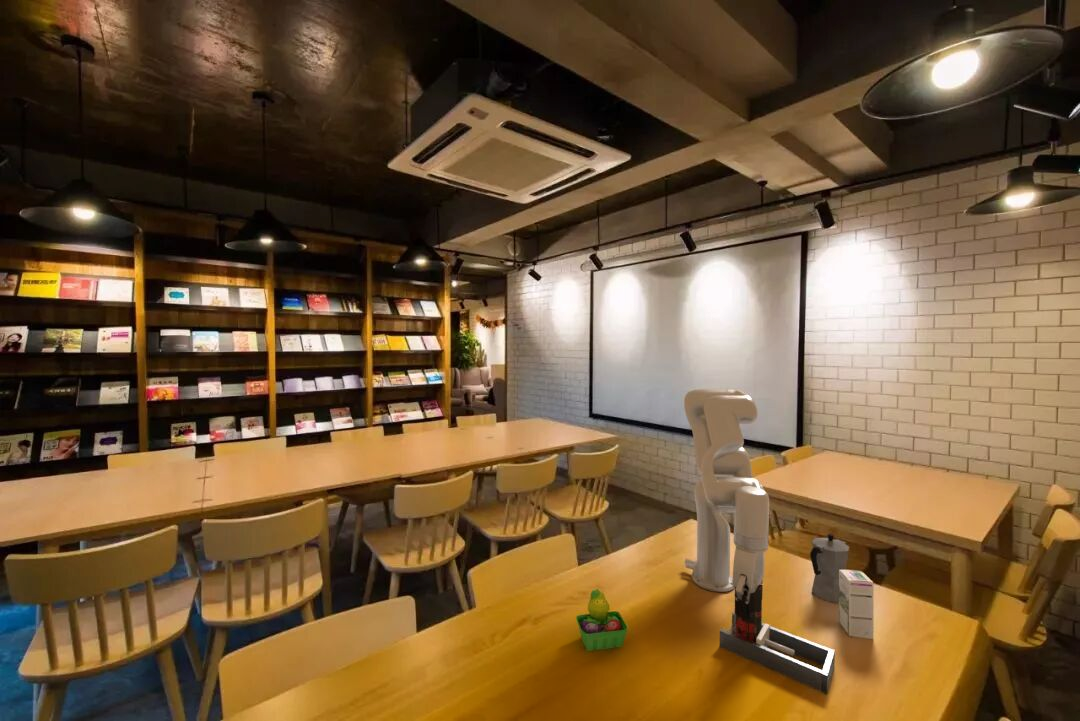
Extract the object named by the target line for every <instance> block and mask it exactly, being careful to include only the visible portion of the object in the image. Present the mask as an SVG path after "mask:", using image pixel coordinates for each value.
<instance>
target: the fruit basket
mask: <svg viewBox="0 0 1080 721" xmlns="http://www.w3.org/2000/svg"><path fill="white" fill-rule="evenodd" d="M610 609H611V608H610V604H609V602H608V600H607V599H606V596H605V594H604V592H602V591H601V590H599V589H593V590H592V591H591V593H590V598H589V601H588V603H587V611H588V613H586V614H578V615H576V617H575V618H576V623H577V624H578V628H579V632H580V636H581V639H582V642H583V644H584V647H585V650H586V651H587V652H590V651H598V650H599V651H600V650H604V649H607V650H608V649H613V648H621V647H623V646H624V645H623V644H624V641H625V638H626V635H627V633H628V630H629V627H628V625H627V624H626V622H625V621H624V619H623V617H622V615H621V613H620V612H619V611H618V610H615V611H610Z"/></svg>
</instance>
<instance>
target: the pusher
mask: <svg viewBox="0 0 1080 721" xmlns="http://www.w3.org/2000/svg"><path fill="white" fill-rule="evenodd" d="M770 626H771V624H768V623H766V622H765V623H764V626H763V628H762V629H761V631H760V633H759V635H758V636H757V638H756V643H757V644H759V645H762V646H764V647H767V648H769V647H771V648H772V649H774V650H778V651H779V652H783V653H785V654H787V655H790V656H792V657H794V656H795V654H794V653H795V651H794V650H792V649H790V648H787V647H785V646H782V645H780V644H777V643H775V642H772V641H770V640H769V636H770Z"/></svg>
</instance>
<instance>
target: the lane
mask: <svg viewBox="0 0 1080 721" xmlns="http://www.w3.org/2000/svg"><path fill="white" fill-rule="evenodd" d="M764 624H765V623H764V622H762V628H763V626H764ZM734 627H735V611H733V612H732V613H731V626H730V627H729V629H728V630H725V629H722V628H720V629H719V648H721V649H724V650H725V651H728V652H730V653H733V654H735V655H737V656H739V657H741V658H744V659H746V660H749V661H750V662H753V663H755V664H758V665H760V666H762V667H765V668H766V669H769V670H771V671H773V672H776V673H777V674H781V675H783V677H784V676H785V677H787V678H789V679H791V680H794V681H796V682H798V683H800V684H803V685H805V686H808V687H809V688H812V689H814V690H816V691H819V692H821V693H823V694H826V695H828V693H829V689H830V685H831V681H832V678H833V674H834V671H835V657H836V655H835V654H836V652H835V649H832V648H829V647H827V646H824V645H821V644H818V643H815V642H813V641H811V640H808V639H806V638H802V637H800V636H797V635H794V634H792V633H790V632H787V631H785V630H782V629H778V628H776V627H773V626H771V625H770V636H769V640H770V641H772V642H775V643H777V644H780V645H782V646H785V647H787V648H790V649H792V650H794V651H795V653H794V656H797V657H800V658H802V659H804V660H805V659H806V660H807V661H810V662H812V663H815V664H817V665H820V666H823V667H822V669H820V668H818V667H816V666H812V665H810V664H808V663H805V662H803V661H800V660H798V659H795V658H793V657H791V656H789V655H785V654H783V653H781V652H780V651H779V652H778V651H776V650H775V649H771V648H769V647H764V646H762V645H759V644H757V643H755V642H752V641H750V640H747V639H745V638H742V637H740V636H738V635H735V634H734Z"/></svg>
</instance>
